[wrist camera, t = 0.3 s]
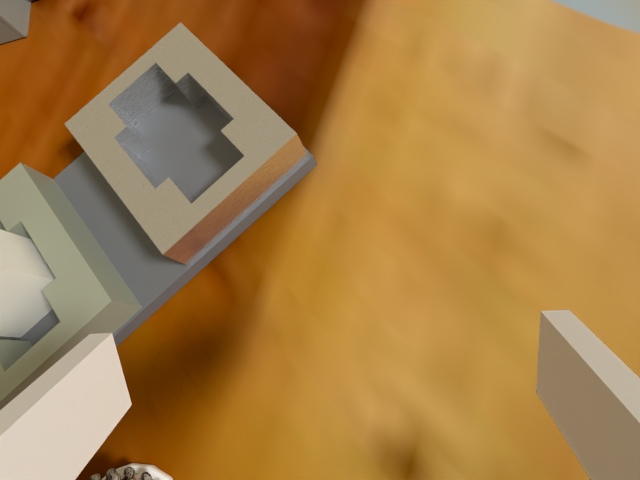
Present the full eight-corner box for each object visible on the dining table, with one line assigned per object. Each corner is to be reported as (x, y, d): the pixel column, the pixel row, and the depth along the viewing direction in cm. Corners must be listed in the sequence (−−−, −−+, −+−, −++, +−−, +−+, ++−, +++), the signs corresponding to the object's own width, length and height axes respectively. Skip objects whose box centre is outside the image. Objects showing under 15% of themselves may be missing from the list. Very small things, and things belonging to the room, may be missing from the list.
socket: (200, 51, 38) (180, 22, 34) (308, 156, 33) (296, 133, 29) (94, 145, 37) (64, 124, 34) (187, 265, 32) (162, 254, 29)
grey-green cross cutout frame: (55, 180, 37) (20, 162, 34) (142, 307, 32) (111, 300, 29) (-55, 276, 37) (-101, 268, 33) (16, 420, 32) (-29, 427, 28)
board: (209, 59, 39) (201, 48, 38) (317, 164, 34) (313, 156, 33) (-41, 280, 38) (-59, 277, 37) (31, 423, 33) (14, 426, 31)
